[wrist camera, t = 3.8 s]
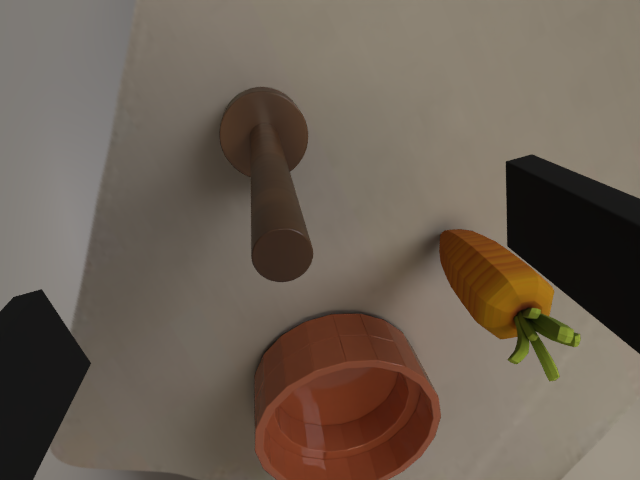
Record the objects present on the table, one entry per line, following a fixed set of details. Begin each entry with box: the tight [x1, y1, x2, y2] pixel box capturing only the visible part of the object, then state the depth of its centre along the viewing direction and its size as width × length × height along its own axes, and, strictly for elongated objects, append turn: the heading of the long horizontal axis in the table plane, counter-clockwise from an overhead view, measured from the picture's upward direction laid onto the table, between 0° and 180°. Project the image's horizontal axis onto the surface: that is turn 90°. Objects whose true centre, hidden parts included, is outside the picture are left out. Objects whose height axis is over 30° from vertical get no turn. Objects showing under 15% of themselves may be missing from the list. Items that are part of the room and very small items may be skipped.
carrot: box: [439, 229, 581, 381], centre depth 28 cm, size 5×5×15 cm
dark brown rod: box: [220, 87, 313, 282], centre depth 20 cm, size 6×6×18 cm
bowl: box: [254, 314, 441, 480], centre depth 36 cm, size 15×15×6 cm
